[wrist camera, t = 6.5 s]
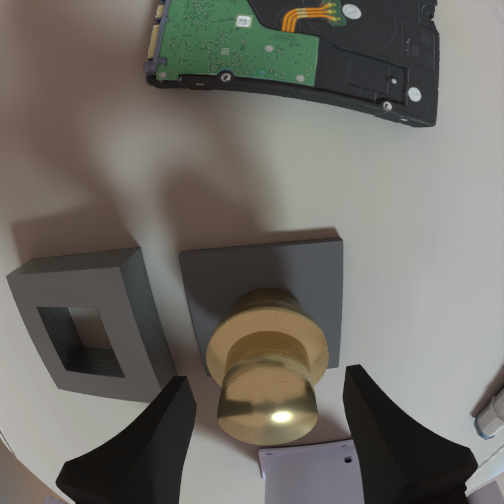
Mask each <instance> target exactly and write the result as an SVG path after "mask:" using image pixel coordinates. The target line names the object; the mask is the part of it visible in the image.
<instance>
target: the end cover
mask: <svg viewBox="0 0 504 504" xmlns="http://www.w3.org/2000/svg"><path fill="white" fill-rule="evenodd" d="M206 361H207V366H208V370H209V372H210V374H211V376H212V377H213V379H214V380H215V381H216V382H217V383H218V385H220V386H221V387H222V389H221V394H220V400H219V406H218V412H217V419H218V423H219V425H220V426H221V428H222V429H223V430H224V431H225V432H226V433H227V434H228V435H230V436H231V437H233V438H235V439H237V440H240V441H243V442H246V443H250V444H255V445H278V444H284V443H288V442H291V441H294V440H297V439H299V438H301V437H302V436H304V435H306V434H307V433H308V432H309V431H310V430H311V429H312V428H313V427H314V426H315V424H316V422H317V419H318V410H317V404H316V398H315V392H314V386H315V385H316V384H317V383H318V382H319V380H320V379H321V378H322V376H323V375H324V373H325V371H326V369H327V366H328V361H329V351H328V346H327V342H326V339H325V336H324V333H323V331H322V329H321V327H320V326H319V325H318V323H317V322H316V321H315V320H314V319H313V318H312V317H311V316H309V315H308V314H306V313H305V312H303V309H302V306H301V304H300V303H299V302H298V300H297V299H296V298H295V297H294V296H292V295H291V294H289V293H287V292H286V291H283V290H280V289H276V288H260V289H255V290H252V291H250V292H248V293H246V294H245V295H243V296H242V297H241V298H239V299H238V301H237V302H236V303H235V305H234V306H233V309H232V311H231V313H230V314H228V315H227V316H226V317H224V318H223V319H222V320H221V321H220V322H219V323H218V324H217V326H216V327H215V329H214V330H213V332H212V334H211V337H210V341H209V344H208V348H207V353H206Z"/></svg>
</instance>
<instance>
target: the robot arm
mask: <svg viewBox="0 0 504 504" xmlns="http://www.w3.org/2000/svg"><path fill="white" fill-rule="evenodd" d="M343 403H344V409H345V414H346V419H347V422H348V425H349V429H350V432H351V435H352V439H351V440H346V441H339V442H333V443H325V444H318V445H309V446H299V447H286V448H269V449H260V450H259V451H258V455H259V460H260V465H261V470H262V475H263V479H264V483H265V504H504V498H503V496H502V494H501V491H500V489H499V486H498V484H497V482H496V481H493V482H491V483H489V484H487V485H486V486H484V487H482V488H480V489H478V490H476V491H474V492H473V493H471V494H470V495H469V496H468V497H466V495H465V491H466V490H467V487H466V485H465V482H466V481H467V480H468V479H469V478H470V477H471V476H472V475H473V474H474V472H475V471H476V470H477V467H478V463H477V461H476V459H475V457H474V455H473V453H472V452H471V450H470V448H468V447H465V446H462V445H459V444H457V443H454V442H452V441H449V440H447V439H445V438H443V437H441V436H439V435H437V434H436V433H434V432H432V431H431V430H429V429H427V428H426V427H424V426H422V425H421V424H420V423H418V422H417V421H415V420H414V419H413V418H411V417H410V416H409V415H408V414H406V413H405V412H404V411H403V410H402V409H401V408H399V407H398V406H397V405H396V404H395V403H394V402H393V401H392V400H391V399H390V398H389V397H388V396H387V395H386V394H385V393H384V392H383V391H382V390H381V389H380V387H379V386H378V385H377V384H376V383H375V382H374V381H373V379H372V378H371V377H370V376H369V375H368V373H367V372H366V371H365V370H364V368H363V367H362V366H361V365H360V364H358V365H352V366H346V373H345V382H344V390H343ZM196 407H197V405H196V402H195V400H194V397H193V394H192V391H191V388H190V385H189V382H188V379H187V376H173V377H172V379H171V380H170V381H169V382H168V383H167V385H166V386H165V387H164V388H163V389H162V391H161V392H160V393H159V394H158V395H157V397H156V398H155V399H154V400H153V401H152V402H151V403H150V404H149V406H148V407H147V408H146V409H145V410H144V411H143V412H142V413H141V414H140V415H139V416H138V417H137V418H136V419H135V420H134V421H133V422H132V423H131V424H130V425H129V426H127V427H126V428H125V429H124V430H123V431H121V432H120V433H119V434H117V435H116V436H115V437H113V438H112V439H110V440H109V441H107V442H106V443H104V444H103V445H101V446H99V447H98V448H96V449H94V450H92V451H90V452H88V453H86V454H84V455H82V456H80V457H77V458H75V459H72V460H70V461H67V462H65V464H64V465H63V467H62V469H61V472H60V474H59V476H58V478H57V480H56V485H57V487H58V488H59V489H60V490H61V491H62V492H63V493H64V494H66V495H67V496H68V497H69V498H71V499H72V500H73V501H74V502H76V504H179V495H180V485H181V477H182V470H183V465H184V461H185V457H186V454H187V450H188V446H189V443H190V439H191V435H192V431H193V428H194V423H195V416H196ZM44 504H67V503H65V502H63V501H61V500H58V499H56V498H54V497H52V496H50V495H47V498H46V500H45V502H44Z"/></svg>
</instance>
